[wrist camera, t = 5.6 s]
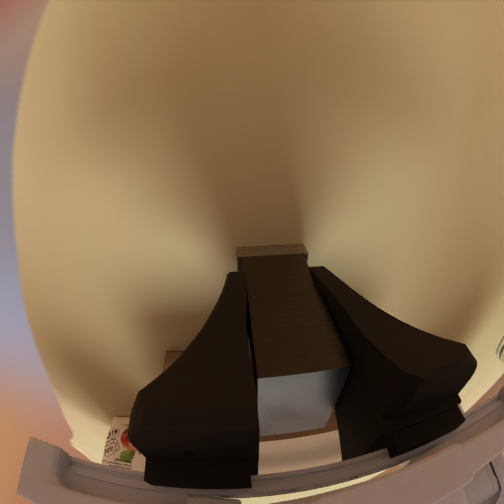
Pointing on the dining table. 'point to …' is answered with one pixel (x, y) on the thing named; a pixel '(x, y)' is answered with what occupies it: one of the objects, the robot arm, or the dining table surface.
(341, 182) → the dining table surface
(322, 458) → the walnut u-shaped block
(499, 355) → the coffee can
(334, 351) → the brown-topped white block
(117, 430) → the juice carton
